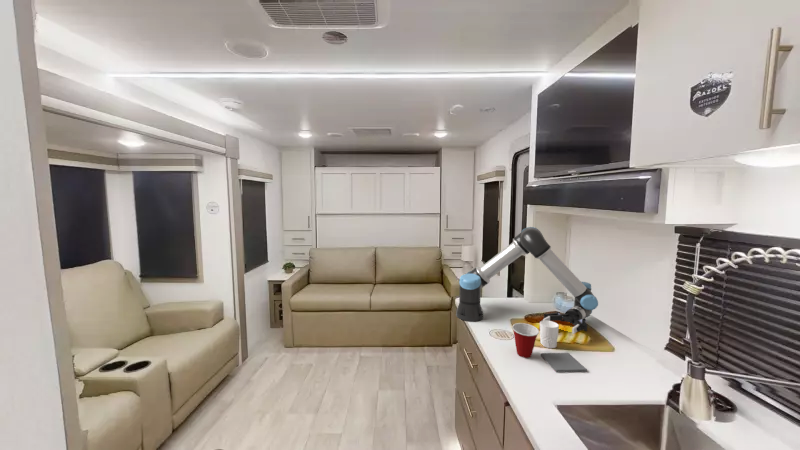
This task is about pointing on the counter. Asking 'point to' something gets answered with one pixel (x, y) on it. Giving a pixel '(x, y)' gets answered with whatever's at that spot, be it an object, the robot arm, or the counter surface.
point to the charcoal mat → (563, 362)
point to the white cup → (548, 334)
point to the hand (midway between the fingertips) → (557, 326)
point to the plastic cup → (524, 338)
